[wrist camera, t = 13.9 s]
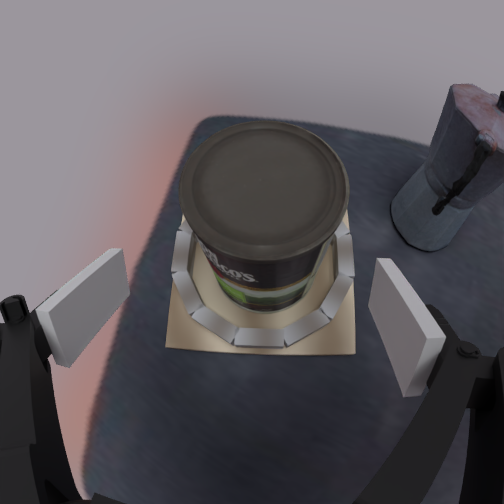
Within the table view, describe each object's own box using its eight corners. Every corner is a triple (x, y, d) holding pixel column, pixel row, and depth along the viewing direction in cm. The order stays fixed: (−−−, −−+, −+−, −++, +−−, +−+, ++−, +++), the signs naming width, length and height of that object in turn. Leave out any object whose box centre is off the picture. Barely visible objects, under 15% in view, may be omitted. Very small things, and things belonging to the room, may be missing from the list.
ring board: (342, 195, 35) (348, 177, 32) (352, 354, 28) (362, 351, 25) (190, 193, 36) (183, 174, 33) (169, 348, 29) (157, 343, 26)
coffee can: (261, 337, 28) (254, 299, 15) (194, 259, 31) (148, 176, 19) (338, 267, 30) (383, 186, 17) (270, 201, 34) (269, 100, 21)
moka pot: (467, 204, 34) (546, 102, 16) (427, 295, 30) (553, 200, 11) (412, 164, 37) (469, 44, 18) (361, 245, 32) (437, 104, 14)
